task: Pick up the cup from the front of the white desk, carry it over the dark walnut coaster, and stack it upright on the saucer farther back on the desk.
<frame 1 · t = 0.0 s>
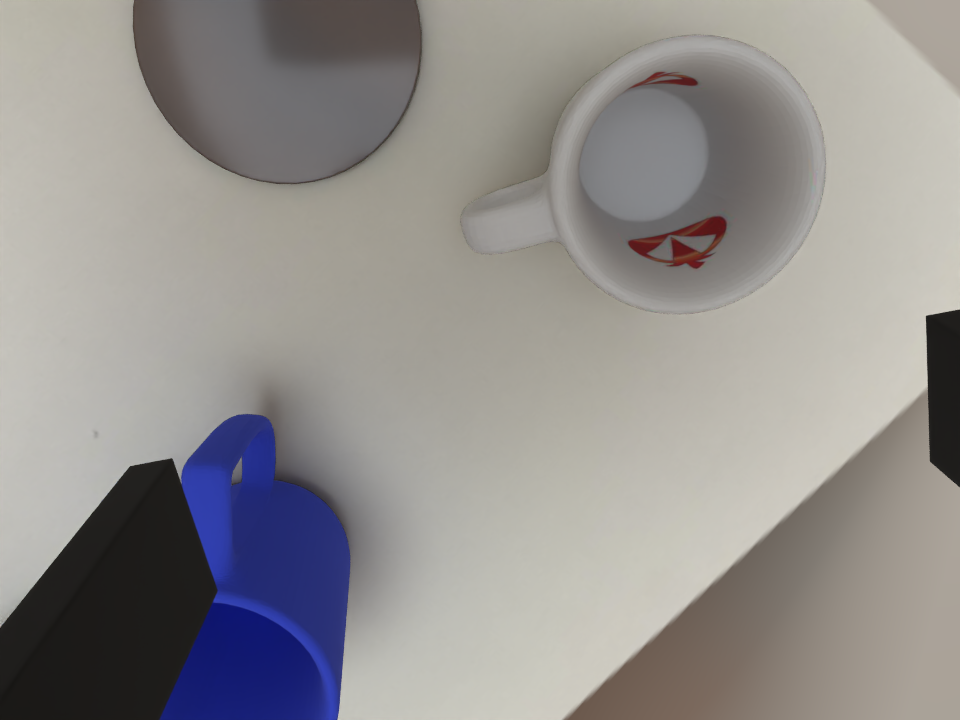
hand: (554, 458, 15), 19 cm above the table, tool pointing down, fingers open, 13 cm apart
mug: (272, 498, 37), on the table
cup: (600, 164, 33), on the table
coaster: (280, 39, 31), on the table
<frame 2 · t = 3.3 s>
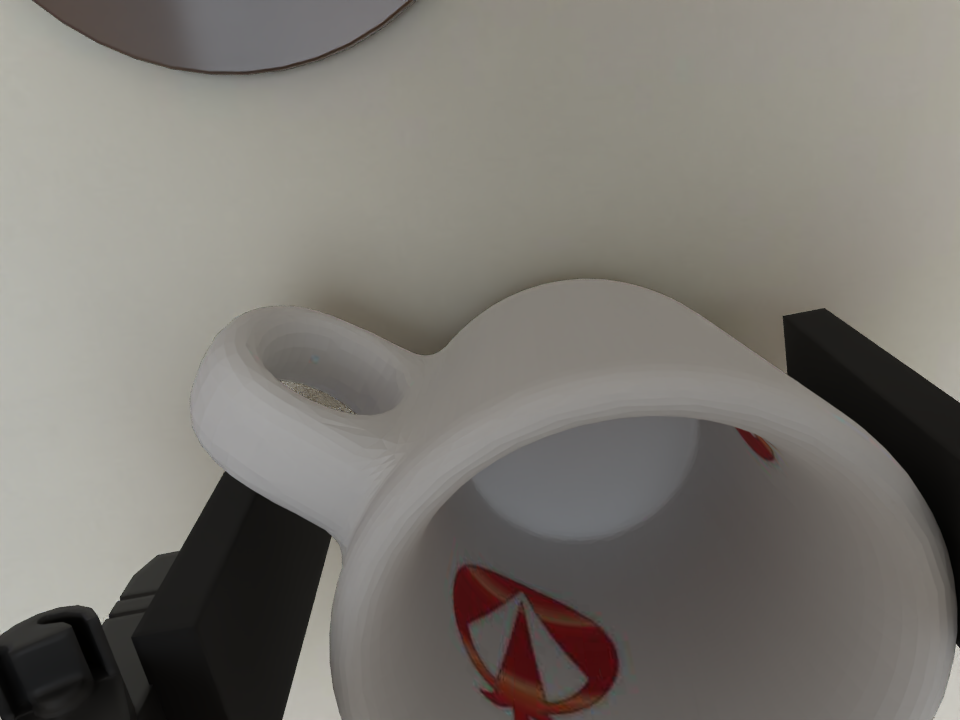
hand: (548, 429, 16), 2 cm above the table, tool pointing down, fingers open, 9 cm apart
cup: (515, 385, 18), on the table, touching gripper
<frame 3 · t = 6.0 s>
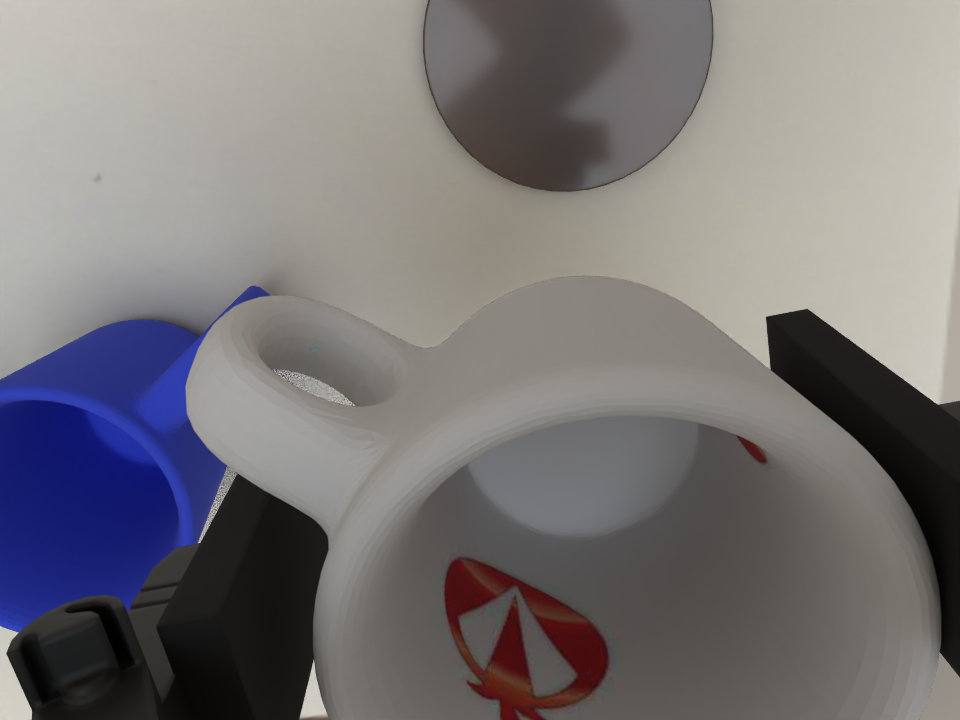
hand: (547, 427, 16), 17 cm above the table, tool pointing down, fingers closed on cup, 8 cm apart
mug: (194, 361, 34), on the table
cup: (517, 380, 18), point 15 cm above the table, touching gripper
coaster: (566, 45, 31), on the table
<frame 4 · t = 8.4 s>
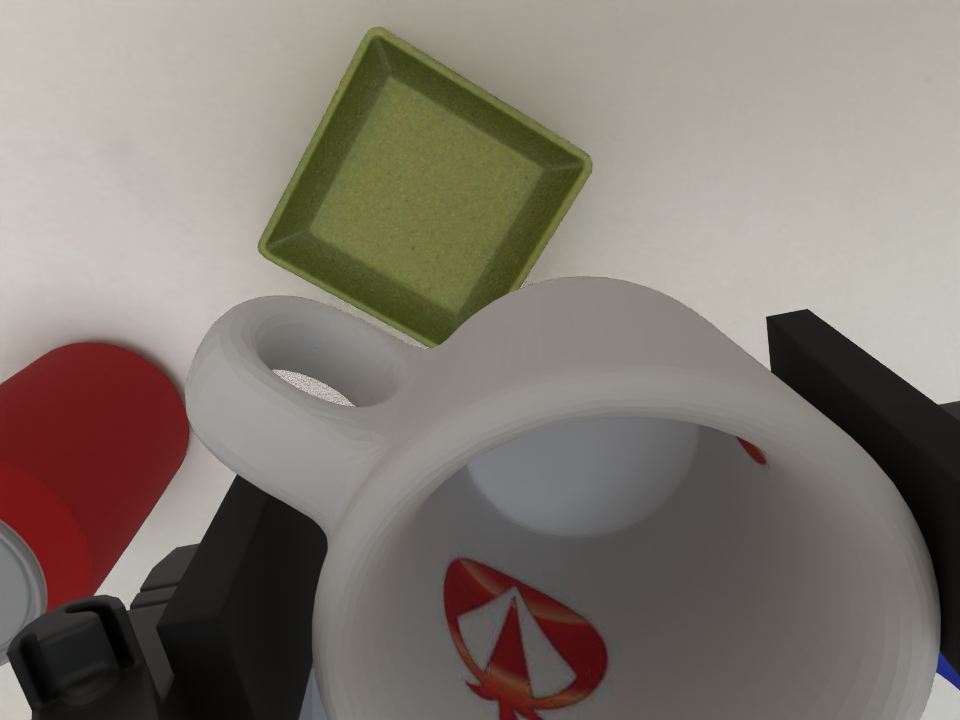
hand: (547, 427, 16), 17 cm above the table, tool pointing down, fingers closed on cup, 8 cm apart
toy car: (419, 699, 40), on the table
beverage can: (111, 414, 35), on the table
mug: (798, 671, 39), on the table
cup: (517, 381, 18), point 15 cm above the table, touching gripper
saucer: (426, 196, 32), on the table
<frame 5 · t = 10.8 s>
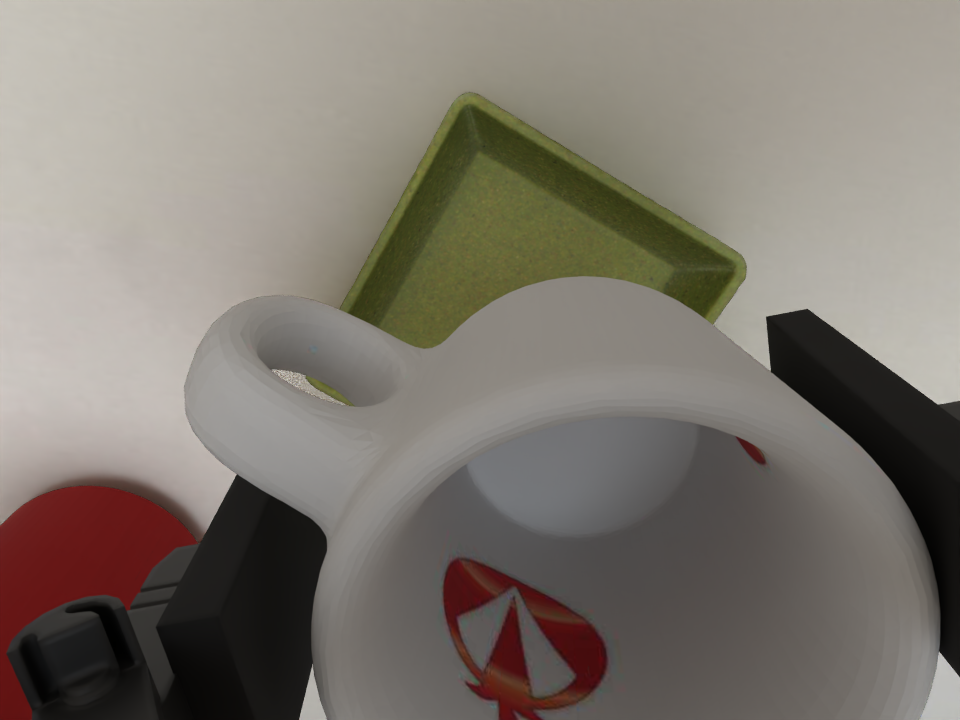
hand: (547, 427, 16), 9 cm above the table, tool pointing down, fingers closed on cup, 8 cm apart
beverage can: (115, 565, 28), on the table
cup: (516, 381, 18), point 7 cm above the table, touching gripper
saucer: (518, 300, 25), on the table
when the fingers open (4 cm above the table, at t = 12.9 s): cup stays where it is, resting on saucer.
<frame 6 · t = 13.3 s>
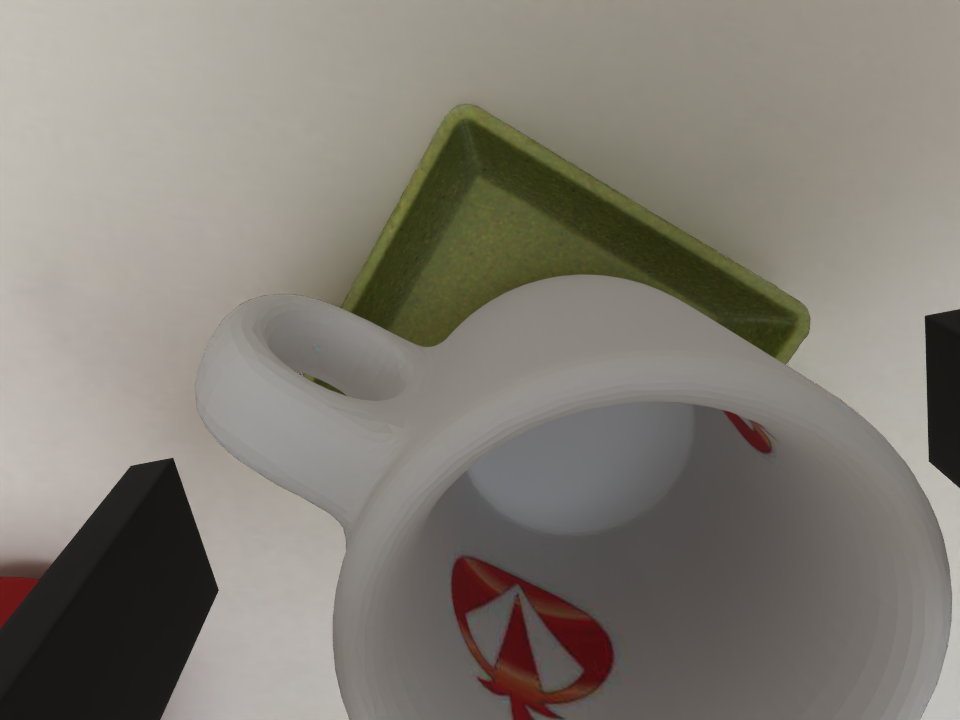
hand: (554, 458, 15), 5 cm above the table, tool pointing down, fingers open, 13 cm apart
beverage can: (47, 664, 23), on the table
cup: (512, 381, 19), point 2 cm above the table, touching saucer
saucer: (526, 353, 21), on the table, touching cup
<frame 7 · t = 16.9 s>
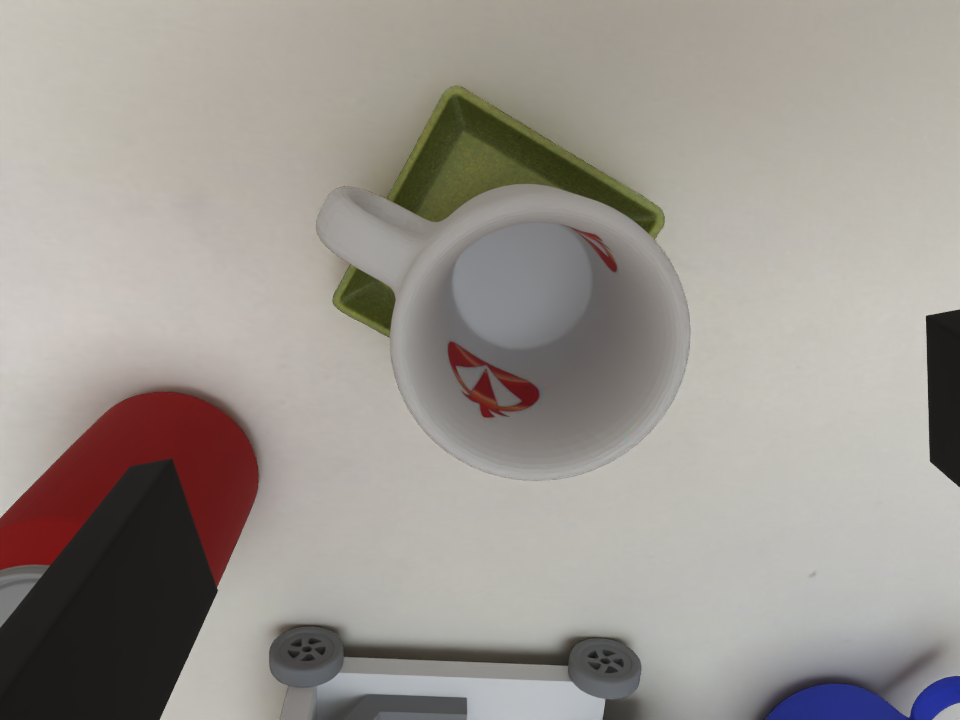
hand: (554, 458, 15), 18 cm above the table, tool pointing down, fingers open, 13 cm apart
beverage can: (179, 460, 35), on the table
mug: (853, 706, 40), on the table
cup: (484, 256, 30), point 2 cm above the table, touching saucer
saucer: (495, 246, 32), on the table, touching cup
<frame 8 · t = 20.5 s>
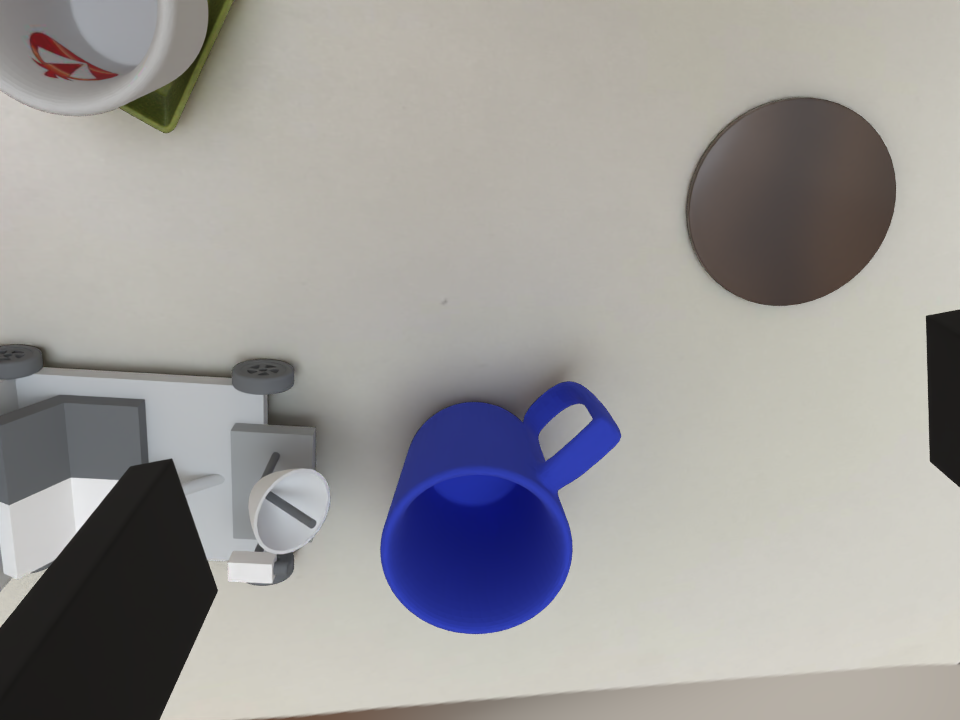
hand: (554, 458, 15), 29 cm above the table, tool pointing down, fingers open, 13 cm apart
toy car: (178, 454, 47), on the table
mug: (499, 429, 46), on the table
coaster: (788, 204, 43), on the table
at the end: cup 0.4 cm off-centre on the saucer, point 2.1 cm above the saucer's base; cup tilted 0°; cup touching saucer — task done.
